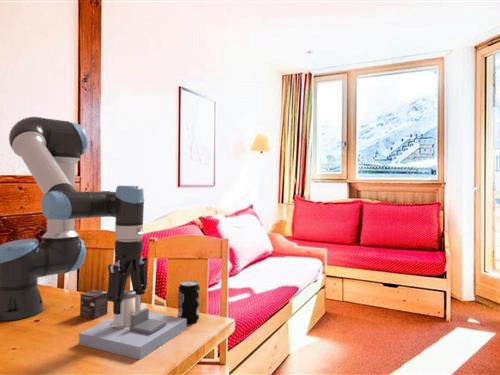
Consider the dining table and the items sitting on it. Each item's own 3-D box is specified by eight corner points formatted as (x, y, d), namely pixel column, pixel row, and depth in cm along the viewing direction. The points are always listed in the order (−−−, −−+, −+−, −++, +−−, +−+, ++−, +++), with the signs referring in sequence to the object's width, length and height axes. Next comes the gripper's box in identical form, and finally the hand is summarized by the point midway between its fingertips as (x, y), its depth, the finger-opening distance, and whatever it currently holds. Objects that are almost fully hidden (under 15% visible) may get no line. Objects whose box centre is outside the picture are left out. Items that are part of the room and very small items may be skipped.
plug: (116, 335, 102) (116, 293, 102) (126, 330, 106) (127, 289, 106) (127, 338, 101) (128, 295, 101) (138, 333, 104) (138, 291, 104)
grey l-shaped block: (129, 329, 99) (129, 315, 99) (146, 320, 105) (146, 307, 105) (150, 333, 96) (151, 319, 96) (166, 324, 103) (166, 311, 103)
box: (79, 317, 116) (79, 294, 116) (93, 311, 122) (94, 289, 122) (94, 320, 114) (94, 296, 114) (108, 313, 119) (108, 291, 119)
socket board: (78, 344, 96) (79, 333, 96) (132, 318, 116) (132, 308, 116) (140, 359, 89) (140, 347, 89) (186, 328, 108) (186, 318, 108)
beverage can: (194, 325, 111) (195, 286, 111) (174, 323, 112) (175, 284, 112) (201, 317, 117) (202, 280, 117) (182, 316, 119) (183, 279, 119)
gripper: (115, 245, 93) (113, 335, 93) (160, 236, 111) (159, 312, 111) (92, 243, 96) (91, 330, 96) (140, 234, 114) (139, 308, 114)
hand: (127, 320), depth 103 cm, fingers open, 6 cm apart
